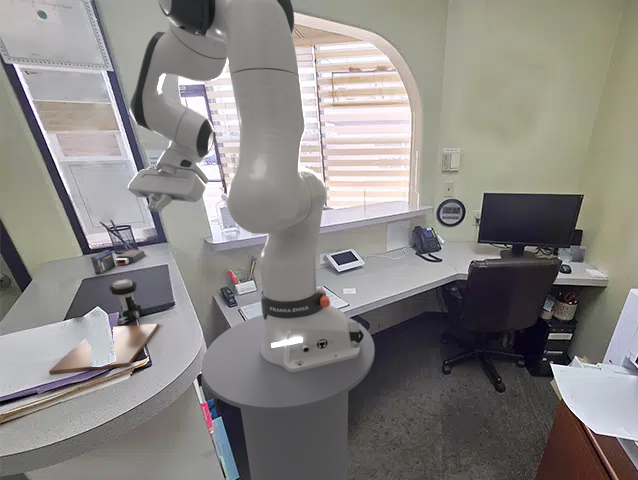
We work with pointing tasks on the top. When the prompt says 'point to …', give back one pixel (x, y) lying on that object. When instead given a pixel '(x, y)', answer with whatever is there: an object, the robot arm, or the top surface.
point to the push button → (126, 299)
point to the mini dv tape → (103, 261)
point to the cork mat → (125, 348)
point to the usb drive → (129, 256)
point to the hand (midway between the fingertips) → (153, 210)
